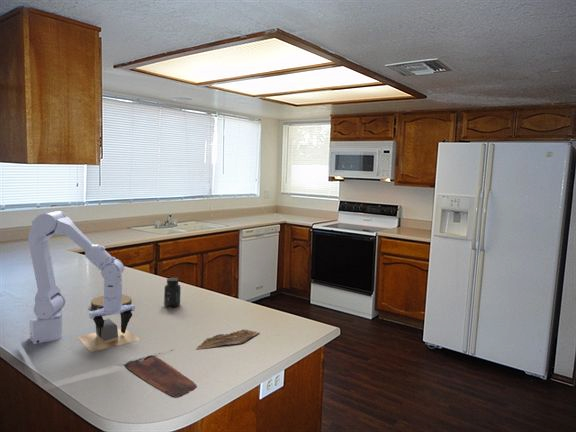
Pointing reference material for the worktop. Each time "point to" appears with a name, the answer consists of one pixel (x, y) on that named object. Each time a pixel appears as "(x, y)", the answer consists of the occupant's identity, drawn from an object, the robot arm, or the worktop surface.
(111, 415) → the worktop surface
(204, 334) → the worktop surface
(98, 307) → the wood log slice
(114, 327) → the block
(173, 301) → the supplement bottle
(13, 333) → the worktop surface
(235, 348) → the worktop surface
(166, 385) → the wooden tablet
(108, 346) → the oak board
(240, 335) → the wooden fragment
